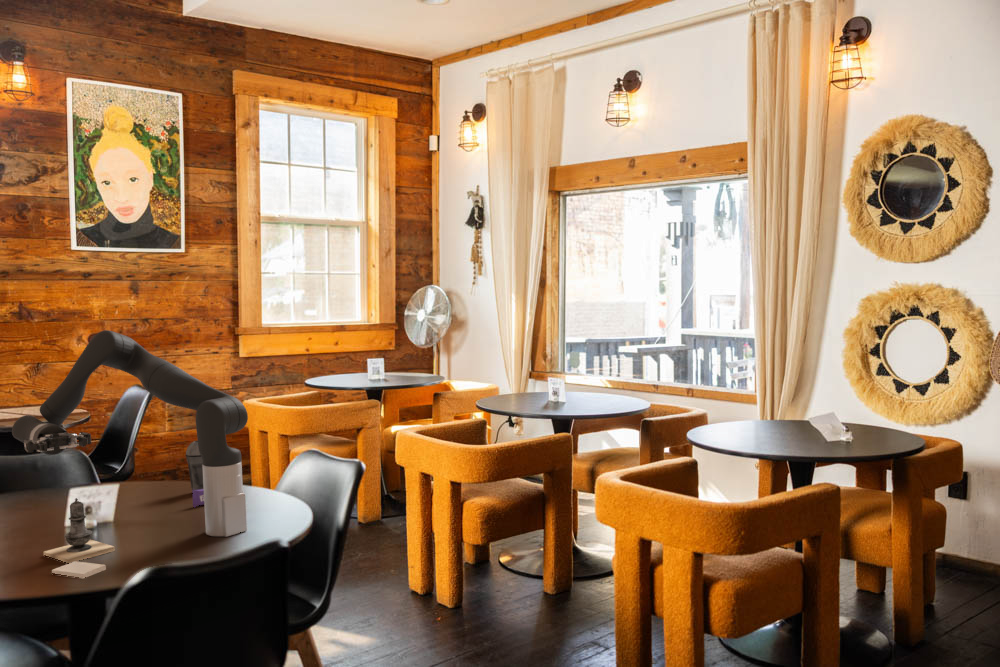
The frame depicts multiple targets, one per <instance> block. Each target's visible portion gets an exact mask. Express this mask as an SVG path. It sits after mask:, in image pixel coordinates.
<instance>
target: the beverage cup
mask: <svg viewBox="0 0 1000 667" xmlns="http://www.w3.org/2000/svg"><path fill="white" fill-rule="evenodd" d="M185 460H186V462H187V466H188V467H187V468H188V473H189V474H188V475H189V480H190V488H191V491H192V490H200V489H204V487H203V466H202V465H203V464H202V458H201V455H200V453H199V449H198V440H194V441H192V442H191V443H190V444H188V446H187V448H186V451H185Z"/></svg>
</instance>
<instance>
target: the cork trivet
mask: <svg viewBox="0 0 1000 667" xmlns="http://www.w3.org/2000/svg"><path fill="white" fill-rule="evenodd" d="M86 544H88V545H91V546H92V548H91V549H89V550H86V551H82V552H73V553H72V552H67V551H66V550H67V549H68V548H69V547H71V546H72V545H70V544H67V545H63V546H60V547H55V548H52V549H47V550H44V551H43V556H44V555H46V556H49V557H52V558H55V559H58V560H61V561H63V562H62V563H64V562H66V563H65V564H67V563H71V562H74V561H77V562H80V561H83V559H84V560H88V559H90V558H95V557H98V556H102V555H105V554H108V553H113V552H115V551H116V549H115V546H114V545H110V544H107V543H104V542H101V541H97V540H93V539H90V540H89V541H88V542H87V543H86ZM49 557H48V558H49ZM52 558H51V559H52ZM87 558H88V559H87ZM55 559H54V560H55ZM58 560H57V561H58ZM79 560H80V561H79ZM61 561H60V562H61Z"/></svg>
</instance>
